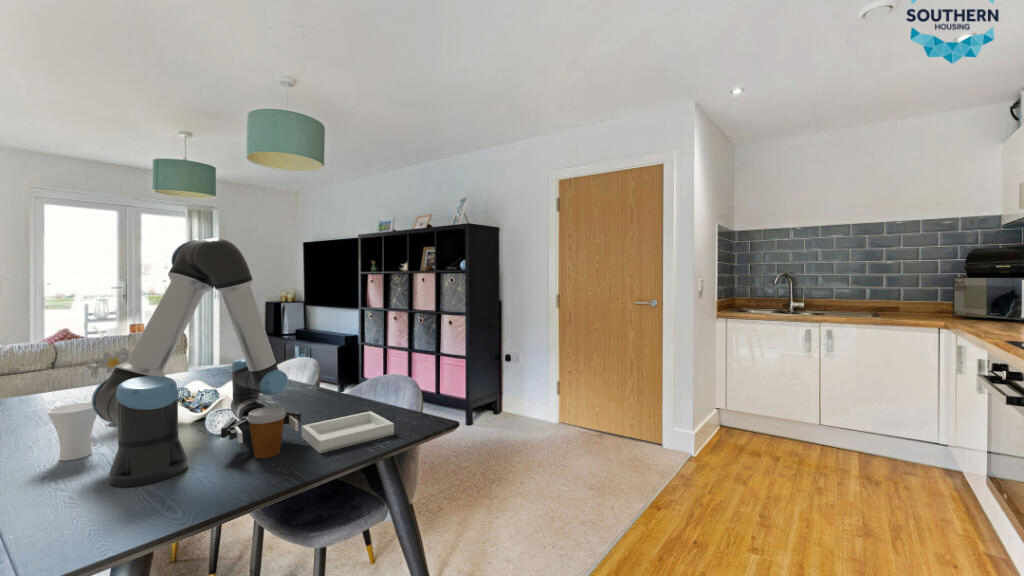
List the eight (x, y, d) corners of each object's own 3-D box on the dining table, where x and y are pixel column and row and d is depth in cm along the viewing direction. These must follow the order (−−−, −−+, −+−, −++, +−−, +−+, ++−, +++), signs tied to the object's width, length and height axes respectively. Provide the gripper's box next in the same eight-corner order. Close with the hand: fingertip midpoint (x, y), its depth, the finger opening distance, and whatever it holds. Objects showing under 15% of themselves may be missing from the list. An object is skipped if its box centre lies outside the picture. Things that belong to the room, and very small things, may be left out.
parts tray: (320, 453, 123) (319, 440, 123) (301, 437, 136) (301, 425, 136) (393, 434, 137) (393, 423, 137) (371, 421, 150) (370, 411, 150)
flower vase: (80, 426, 147) (77, 351, 146) (144, 411, 164) (142, 343, 163) (102, 431, 142) (100, 353, 141) (166, 415, 159) (164, 345, 158)
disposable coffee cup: (275, 461, 118) (274, 416, 118) (239, 461, 118) (238, 416, 118) (293, 447, 127) (292, 405, 127) (260, 447, 128) (259, 406, 127)
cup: (51, 455, 123) (50, 407, 123) (103, 446, 130) (101, 400, 129) (45, 467, 115) (44, 415, 115) (100, 456, 122) (99, 407, 121)
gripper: (296, 417, 144) (318, 434, 128) (204, 435, 128) (215, 458, 112) (296, 394, 144) (317, 408, 128) (203, 410, 128) (214, 428, 112)
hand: (269, 431), depth 120 cm, fingers open, 13 cm apart
